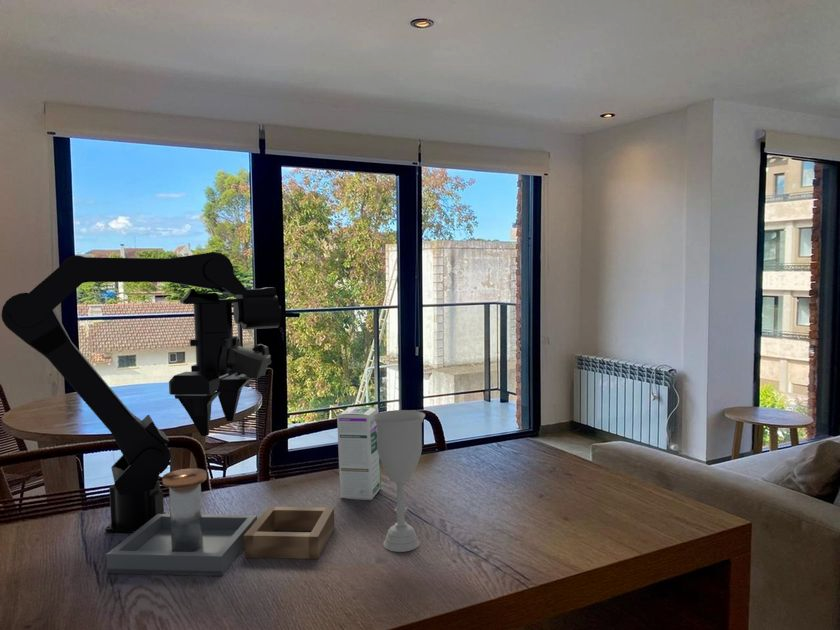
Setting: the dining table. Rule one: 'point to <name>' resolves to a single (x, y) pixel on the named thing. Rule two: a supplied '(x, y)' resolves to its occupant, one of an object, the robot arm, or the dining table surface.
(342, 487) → the syrup box
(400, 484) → the chalice
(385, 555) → the dining table surface
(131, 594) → the dining table surface
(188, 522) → the glass jar
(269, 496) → the dining table surface
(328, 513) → the square wooden frame
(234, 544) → the tray
